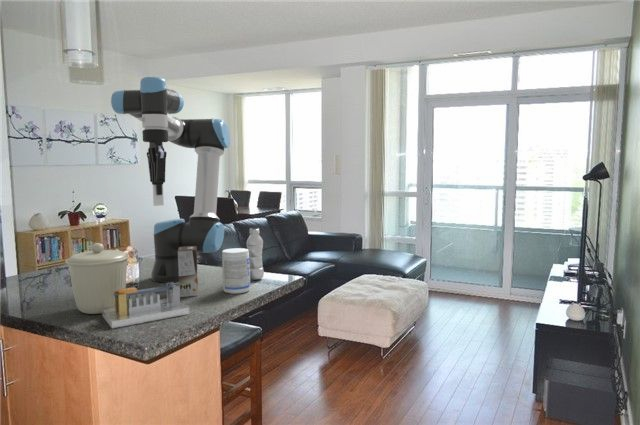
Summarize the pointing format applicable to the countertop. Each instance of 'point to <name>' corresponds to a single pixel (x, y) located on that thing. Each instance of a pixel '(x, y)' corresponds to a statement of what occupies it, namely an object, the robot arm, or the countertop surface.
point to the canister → (97, 277)
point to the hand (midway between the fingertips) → (158, 205)
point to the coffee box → (188, 271)
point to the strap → (135, 292)
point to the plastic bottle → (255, 254)
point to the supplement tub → (236, 270)
